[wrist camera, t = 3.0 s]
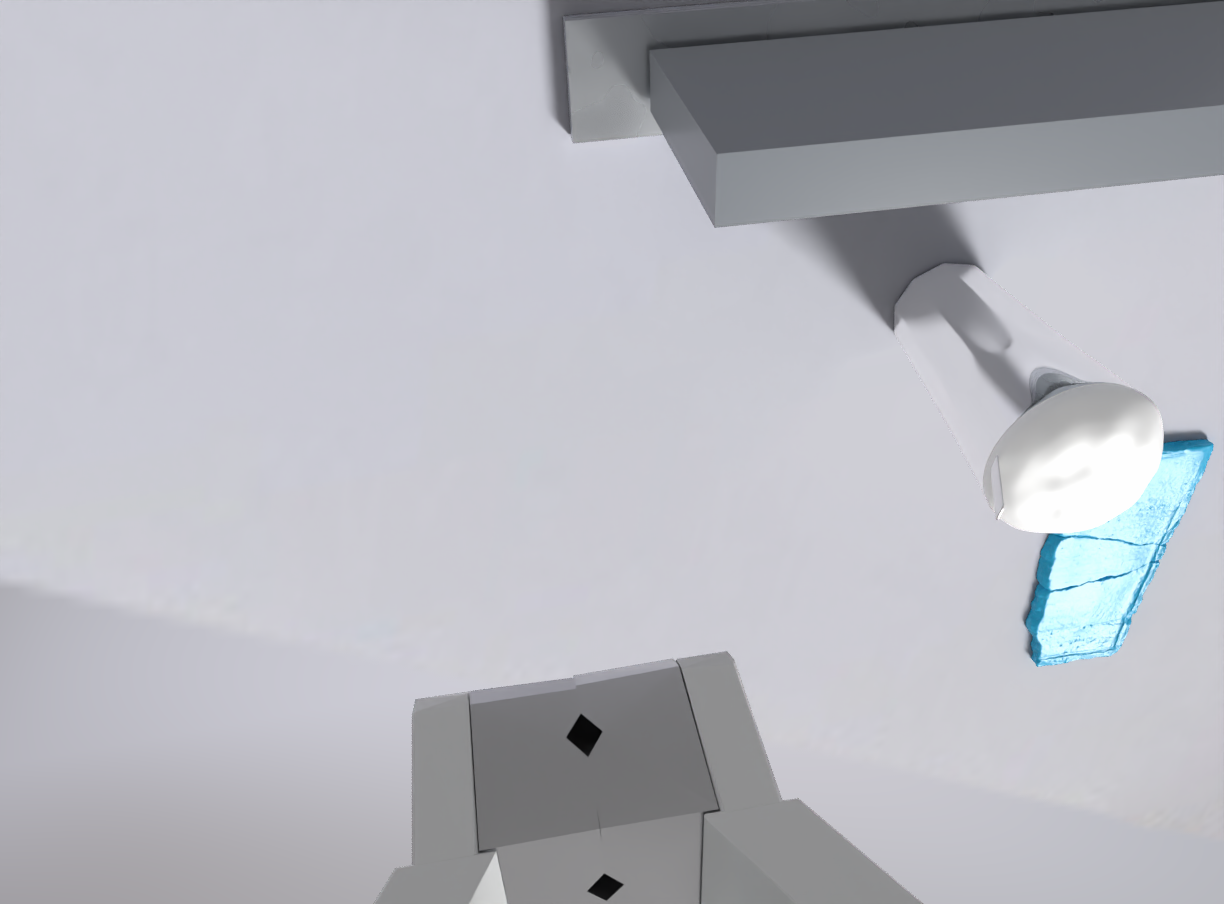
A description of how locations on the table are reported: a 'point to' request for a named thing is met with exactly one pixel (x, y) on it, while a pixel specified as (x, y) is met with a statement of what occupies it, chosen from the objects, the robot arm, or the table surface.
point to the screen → (944, 112)
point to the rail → (780, 8)
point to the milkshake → (1027, 404)
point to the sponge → (1110, 565)
